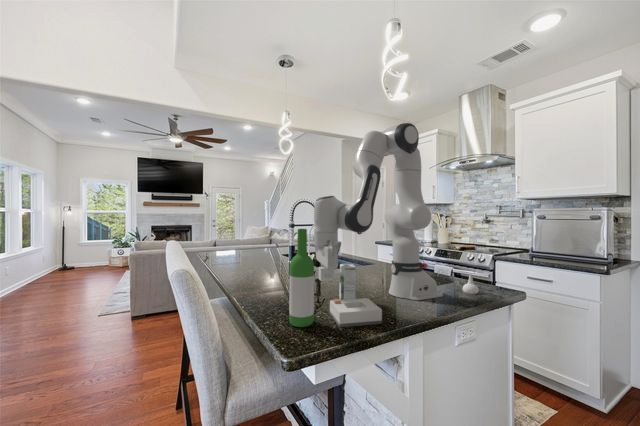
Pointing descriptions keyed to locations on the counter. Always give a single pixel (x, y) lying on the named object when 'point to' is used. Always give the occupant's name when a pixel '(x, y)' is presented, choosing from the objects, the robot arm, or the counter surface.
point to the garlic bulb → (470, 287)
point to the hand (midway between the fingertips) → (326, 276)
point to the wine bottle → (301, 285)
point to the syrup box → (347, 282)
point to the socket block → (355, 312)
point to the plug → (322, 275)
